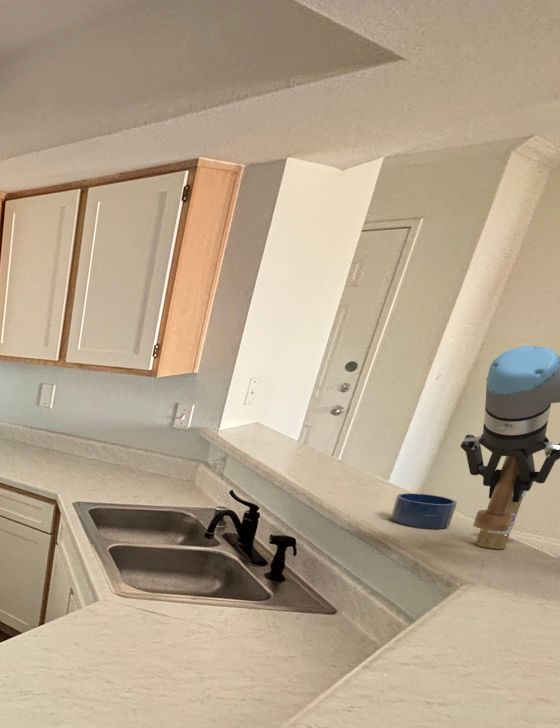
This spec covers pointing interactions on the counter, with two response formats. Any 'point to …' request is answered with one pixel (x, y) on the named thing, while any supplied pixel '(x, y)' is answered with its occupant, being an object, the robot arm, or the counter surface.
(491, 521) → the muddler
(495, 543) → the sprinkles bottle
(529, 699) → the counter surface
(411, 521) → the bowl
